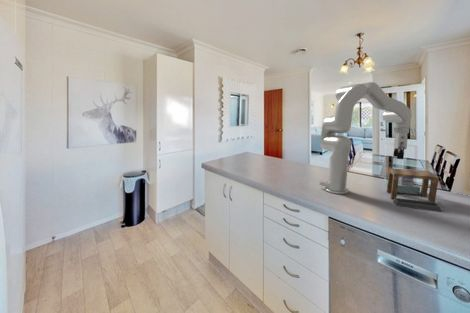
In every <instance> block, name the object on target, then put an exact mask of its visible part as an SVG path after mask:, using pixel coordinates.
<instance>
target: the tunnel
mask: <svg viewBox="0 0 470 313" xmlns="http://www.w3.org/2000/svg"><path fill="white" fill-rule="evenodd" d="M387 176H388V177H387V181H388V183H387V184H386V193H388V194H390V200H393V201H394V198H398V197H397V196H398V195H397V194H398V192H397V189H398V180H399V177H405V178H414V179H417V180H418V179H419V180H420V179H421V180H422V182H421V187H420V193H419V195H420V196H421V197H423V198H428V199H427V202H434V203H436V199H437V193H438V192H437V191H438V187H439V186H438V185H439V178H440V177H439V176H438V175H436V174H434V172H433V173H432V172H431V171H429V170H418V169H404V168H403V169H402V168H393V167H392V168H390V167H389V168H388V175H387ZM429 183H430V185H429ZM428 188H429V189H428ZM428 190H429V192H428ZM427 194H428V197H427Z"/></svg>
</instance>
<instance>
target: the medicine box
mask: <svg viewBox="0 0 470 313" xmlns="http://www.w3.org/2000/svg"><path fill="white" fill-rule="evenodd" d="M414 179H415V178H405V177H399V180H398V185H407V186H414Z"/></svg>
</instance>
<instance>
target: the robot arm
mask: <svg viewBox="0 0 470 313" xmlns="http://www.w3.org/2000/svg"><path fill="white" fill-rule="evenodd" d="M335 99H336V100H337V101H338V102H337V104H336V107H335V113H334V115H331V116H327V117H325V119H324V120H323V122H322V124H321V125H322V126H321V132H320V147H321V149H322V150H324V151H326V152H332V153H331V155H330V157H329V161H328V162H329V163H328V178H327V179H328V180H327V181H325V182H324V181H319V186H321V187H324V191H326V192H328V193H331V194H336V195H339V194H340V195H345V194H349V192H350V189H348V188H347V179H348V168H349V157H350V152H351V149H352V143H353V142H352V141H351V139H350V138H349V137H347V136H346V135H336V134H346V133H348V132H349V131H350V130H351V128H352V122H353V121H352V120H353V112H354V108H355V106H356V104H357V103H358V102H360V100H361V99H365V100H367V101H368V103H370V104H371V106H373V108H375V109H377V110H381V111H384V112H383V114H382V116H381V117H382V120H383V121H384V122H386V123H394V126H393V129H394V130H393V133H394V134H395V135H394V142H393V147H394V149H393V157H395V158H396V159H397V160H404V156H405V150H407V149H408V134H409V133H410V126H411V119H412V117H413V116H412V115H413V114H412V111H411V109H410V108H409V106H407V105H406V104H405V103H404V102H403V101H401V100H397V99H396V98H393V97H390V96H388V94H387V93H386V92H385V90H383V89H382V88H381V86H379V84H377V83H376V82H374V81H369V82H362V83H356V84H355V83H354V84H350V85H344V86H340V87H339V88H338V89H337V90H336V91H335Z"/></svg>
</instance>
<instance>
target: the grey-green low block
mask: <svg viewBox="0 0 470 313" xmlns="http://www.w3.org/2000/svg"><path fill="white" fill-rule="evenodd" d="M383 181H384V182H385V184H386V185H387V183H388V178H383ZM397 193H402V194H411V195H420V194H421V187H420V186H415V185H413V186H407V185H398V189H397Z"/></svg>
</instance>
